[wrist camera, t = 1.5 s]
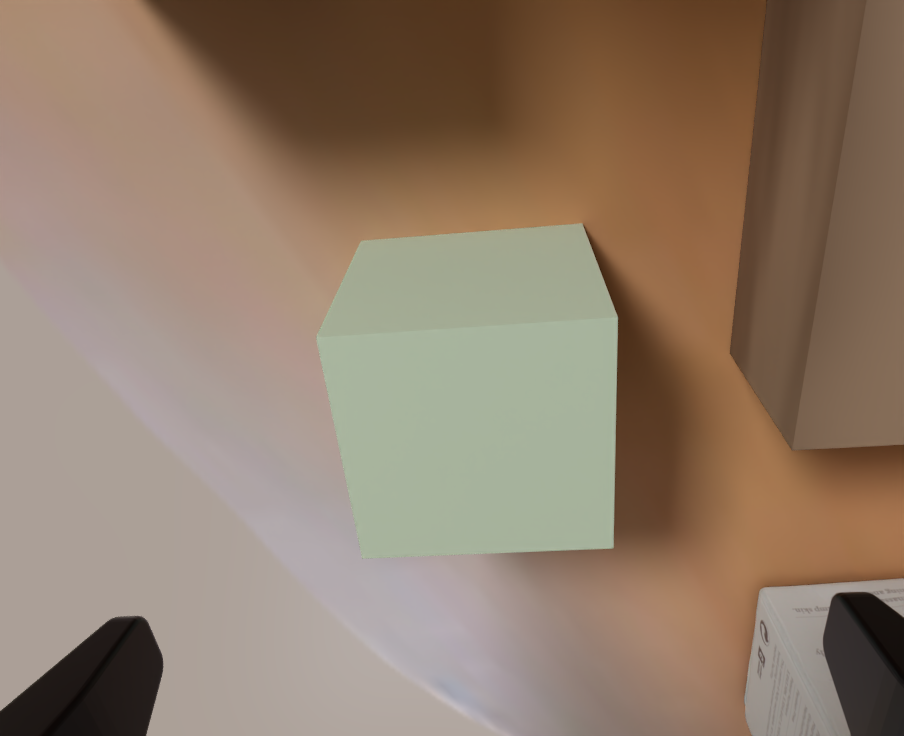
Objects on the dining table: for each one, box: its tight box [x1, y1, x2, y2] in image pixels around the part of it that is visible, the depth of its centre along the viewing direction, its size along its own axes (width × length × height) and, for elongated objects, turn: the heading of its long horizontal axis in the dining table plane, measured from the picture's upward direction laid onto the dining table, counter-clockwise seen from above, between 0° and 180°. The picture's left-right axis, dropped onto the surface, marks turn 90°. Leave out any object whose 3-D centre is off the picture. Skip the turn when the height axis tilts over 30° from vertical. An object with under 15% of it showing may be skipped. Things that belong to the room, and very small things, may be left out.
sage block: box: [316, 224, 618, 559], centre depth 15 cm, size 5×5×5 cm
